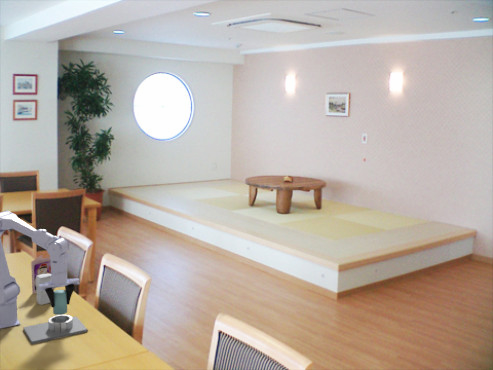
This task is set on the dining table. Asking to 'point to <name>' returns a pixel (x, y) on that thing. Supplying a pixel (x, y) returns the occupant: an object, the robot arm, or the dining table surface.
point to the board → (44, 334)
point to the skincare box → (42, 295)
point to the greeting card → (39, 269)
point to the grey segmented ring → (60, 323)
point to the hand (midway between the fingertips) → (60, 305)
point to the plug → (60, 302)
